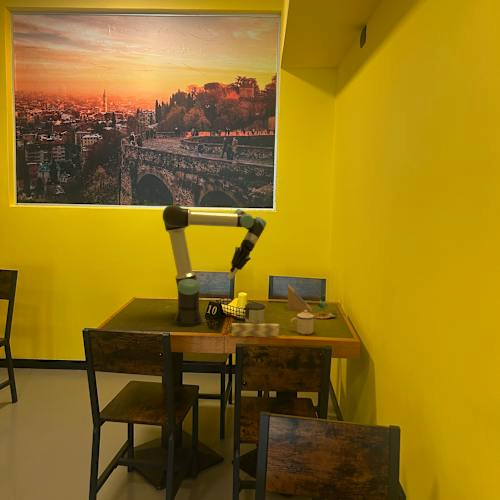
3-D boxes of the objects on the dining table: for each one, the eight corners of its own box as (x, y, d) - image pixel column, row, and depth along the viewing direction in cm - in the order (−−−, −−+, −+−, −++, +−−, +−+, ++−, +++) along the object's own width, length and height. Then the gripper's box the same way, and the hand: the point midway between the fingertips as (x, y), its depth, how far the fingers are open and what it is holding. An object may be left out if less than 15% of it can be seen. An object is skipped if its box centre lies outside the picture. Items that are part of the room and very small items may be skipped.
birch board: (231, 336, 237) (231, 324, 236) (231, 334, 240) (231, 323, 239) (278, 337, 238) (279, 325, 237) (278, 335, 241) (278, 323, 240)
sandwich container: (312, 311, 289) (313, 287, 287) (287, 310, 290) (288, 286, 288) (311, 308, 297) (312, 284, 295) (287, 307, 298) (288, 283, 296)
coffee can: (240, 332, 244) (241, 305, 243) (252, 327, 253) (253, 302, 251) (256, 336, 238) (257, 309, 236) (268, 331, 246) (268, 305, 244)
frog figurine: (339, 321, 269) (337, 296, 267) (307, 321, 273) (306, 297, 271) (339, 316, 278) (338, 292, 277) (309, 317, 283) (307, 293, 281)
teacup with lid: (313, 330, 251) (314, 308, 249) (313, 335, 242) (314, 313, 240) (290, 328, 252) (291, 307, 251) (290, 333, 243) (291, 312, 242)
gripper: (248, 237, 261) (227, 273, 255) (259, 249, 270) (240, 284, 264) (238, 235, 266) (218, 270, 260) (250, 246, 275) (231, 281, 269)
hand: (229, 277), depth 262 cm, fingers closed
